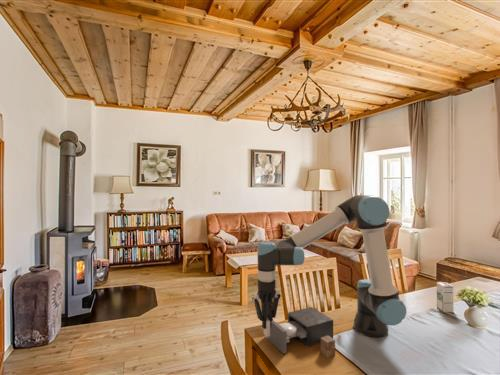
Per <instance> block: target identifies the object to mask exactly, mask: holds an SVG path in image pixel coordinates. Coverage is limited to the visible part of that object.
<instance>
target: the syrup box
mask: <svg viewBox="0 0 500 375" xmlns="http://www.w3.org/2000/svg"><path fill="white" fill-rule="evenodd" d="M436 308H437V309H438V310H440V312H443V313H454V308H455V307H454V285H452V284H450V283H448V282H446V281H437V282H436Z"/></svg>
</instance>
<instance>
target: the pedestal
mask: <svg viewBox="0 0 500 375" xmlns="http://www.w3.org/2000/svg"><path fill="white" fill-rule="evenodd" d="M320 353H321V354H322V355H323V356H324V357H326V358H331V357H333V356H335V355H336V340H335V339H334V337H333V338H331V337H330V336H325V337H322V338H321V343H320Z"/></svg>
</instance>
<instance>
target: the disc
mask: <svg viewBox="0 0 500 375" xmlns="http://www.w3.org/2000/svg"><path fill="white" fill-rule="evenodd" d="M279 325H280V326H281V327H282V328H283V329H284V330H286V331H287V337H291V336H294V335H296V333H297V328H296V326H295V325H293V324H291V323H288V322H283V323H280V324H279Z"/></svg>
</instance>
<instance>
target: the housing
mask: <svg viewBox="0 0 500 375" xmlns="http://www.w3.org/2000/svg"><path fill="white" fill-rule="evenodd" d="M293 320H295V321H296V322H297V323H299V324H300V325H301V326H303V327H304V328H306V329H307V337H305V338H300V337H299V336H296V337H295V338H297V340H299V341H301V342H302V343H303V344H304V345H305V346H306V347H308V348H309V347H312V346H315V345H318V344H321V338H322V337H325V336H330V337H331V338H333V339H334V319H332V318H331V317H329V316H328V315H326V314H325V313H323V312H321V311H319V310H317V309H316V308H314V307H312V306H310V307H306V308H302V309H297V310H294V311H289V312H287V323H288V322H290V321H293Z"/></svg>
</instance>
